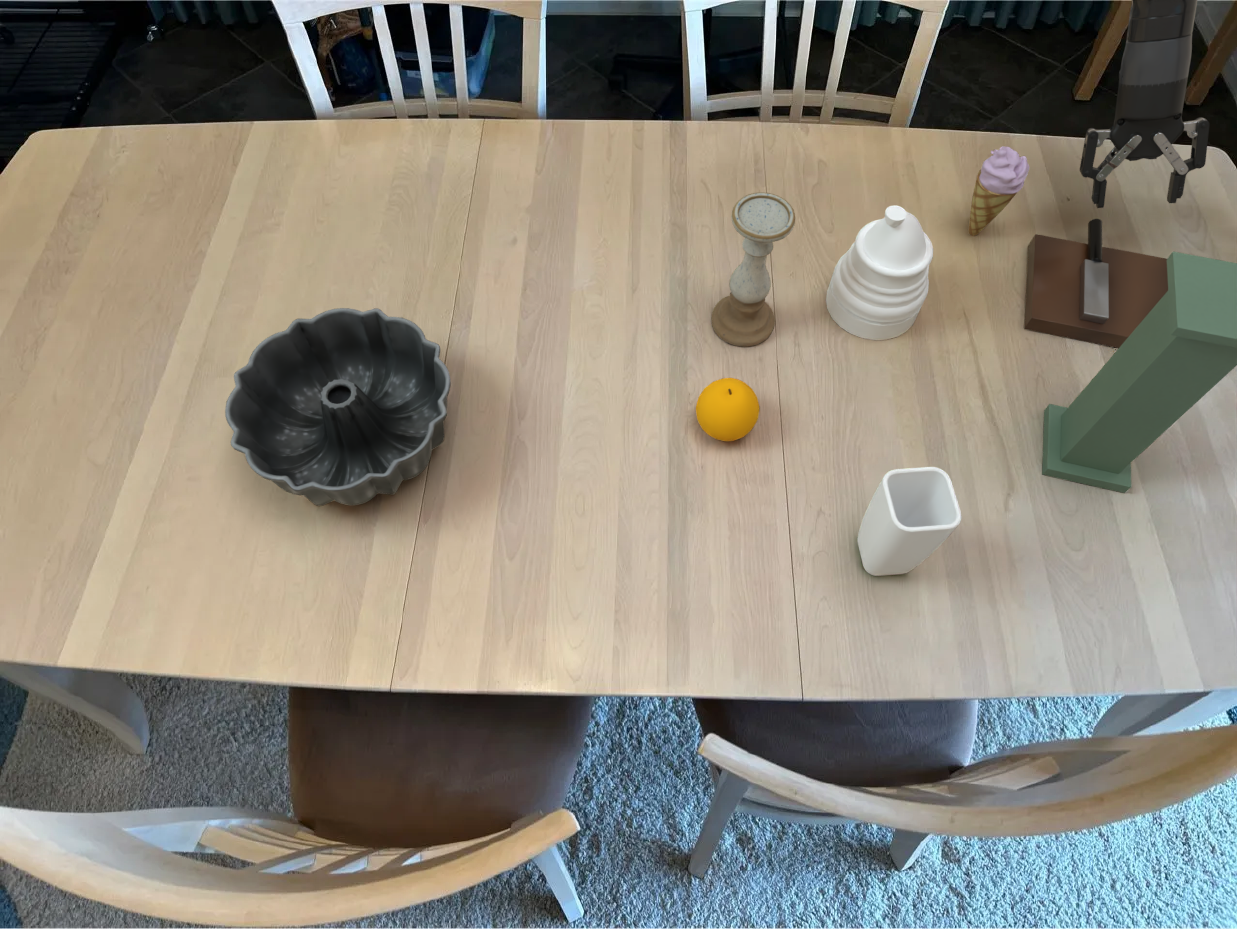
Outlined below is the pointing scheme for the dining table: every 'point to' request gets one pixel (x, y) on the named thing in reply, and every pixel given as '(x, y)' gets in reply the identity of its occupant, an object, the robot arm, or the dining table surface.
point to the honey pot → (882, 277)
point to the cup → (907, 520)
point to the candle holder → (752, 270)
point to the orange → (727, 409)
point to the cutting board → (1058, 290)
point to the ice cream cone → (996, 186)
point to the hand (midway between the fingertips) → (1135, 204)
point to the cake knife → (1094, 278)
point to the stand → (1148, 377)
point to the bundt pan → (340, 405)
